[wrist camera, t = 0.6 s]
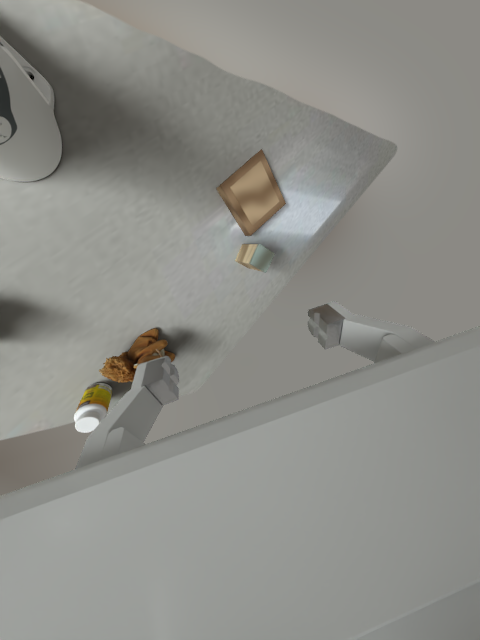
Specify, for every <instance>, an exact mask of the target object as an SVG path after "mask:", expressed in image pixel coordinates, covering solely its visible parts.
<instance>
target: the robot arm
mask: <svg viewBox="0 0 480 640" xmlns="http://www.w3.org/2000/svg"><path fill="white" fill-rule="evenodd" d="M29 75H32V76H34V80H31V78H30V77H29ZM61 154H62V141H61V135H60V131H59V128H58V125H57V122H56V119H55V116H54V92H53V89H52V87H51V85H50V84H49V83H48V82H47V80H46V79H45V78H44V77H43V76H42V75H41V74H40V73H39V72H38V71H37V70H36V69H35V68H34V67H33V66H31V65H30V64H29V63H28V62H27V61H26V60H25V59H24V58H23V57H22V56H21V55H20V54H19V53H18V52H17V51H16V50H15V49H14V48H13V47H11V46H10V45H9V44H8V43H7V42H6V41H5V40H4V39H3V38H2V37H1V36H0V178H3V179H6V180H11V181H18V182H30V181H36V180H40V179H42V178H45V177H46V176H48V175H50V174H51V173H52V172H53V171H54V170H55V169H56V167H57V166H58V164H59V162H60V159H61ZM308 316H309V317H310V319H309V321H308V327H309V331H310V332H311V334H312V335H313V336H314V337H317V338H318V342H319V343H320V344H321V345H322V347H323V348H324V349H328V348H331V347H334V346H338V345H340V346H341V347H343V348H346V349H348V350H350V351H352V352H355V353H357V354H359V355H361V356H363V357H365V358H367V359H369V360H372V361H374V364H371V365H368V366H366V367H363V368H360V369H357V370H354V371H351V372H349V373H346V374H343V375H340V376H337V377H335V378H332V379H329V380H326V381H323V382H320V383H318V384H315V385H312V386H309V387H307V388H304V389H301V390H298V391H295V392H293V393H290V394H287V395H284V396H281V397H279V398H275V399H273V400H270V401H267V402H264V403H261V404H258V405H256V406H253V407H250V408H247V409H245V410H242V411H239V412H236V413H233V414H230V415H228V416H225V417H222V418H219V419H216V420H213V421H210V422H208V423H205V424H202V425H200V426H196V427H194V428H191V429H188V430H185V431H182V432H179V433H177V434H174V435H171V436H168V437H165V438H163V439H160V440H157V441H154V442H151V443H148V444H144V443H143V442H144V441H145V439H146V437H147V435H148V433H149V431H150V429H151V428H152V426H153V424H154V422H155V420H156V418H157V416H158V414H159V413H160V411H161V409H162V407H163V405H165V404H168V403H170V402H173V401H176V400H178V397H179V388H178V387H177V384H178V382H179V374H178V371H177V368H176V367H175V365H172V364H171V359H170V358H169V356H164V357H160V358H157V359H154V360H150V361H148V362H144V363H141V364H139V365H138V366H137V369H136V372H135V376H134V380H133V383H132V387H131V390H130V391H127V393H126V394H125V395H124V396H123V397H122V398H121V400H120V401H119V402H118V403H117V404H116V405H115V406H114V408H113V409H112V410H111V411H110V412H109V413H108V415H107V416H106V417H105V418H104V419H103V420H102V422H101V423H100V424H99V425H98V426H97V427H96V428H95V430H94V431H93V432H92V433H91V434H90V435H89V437H88V438H87V440H86V443H85V445H84V448H83V450H82V453H81V456H80V458H79V461H78V463H77V466H76V468H75V470H72V471H70V472H67V473H64V474H61V475H58V476H56V477H52V478H50V479H47V480H44V481H41V482H38V483H36V484H33V485H30V486H27V487H24V488H21V489H19V490H16V491H13V492H10V493H7V494H5V495H2V496H0V640H480V326H479V327H476V328H473V329H470V330H467V331H464V332H461V333H459V334H456V335H453V336H450V337H447V338H445V339H442V340H439V341H436V342H435V341H433V340H432V339H430V338H428V337H427V336H425V335H423V334H422V333H420V332H419V331H417V330H415V329H414V328H412V327H410V326H405V325H401V324H397V323H392V322H388V321H383V320H379V319H375V318H370V317H366V316H361V315H354V314H353V313H351V312H350V311H349V310H347V309H346V308H344V307H343V306H342V305H340V304H339V303H337V302H336V301H332V302H330V303H327V304H324V305H321V306H318V307H315V308H312V309H310V310H309V311H308Z"/></svg>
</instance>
